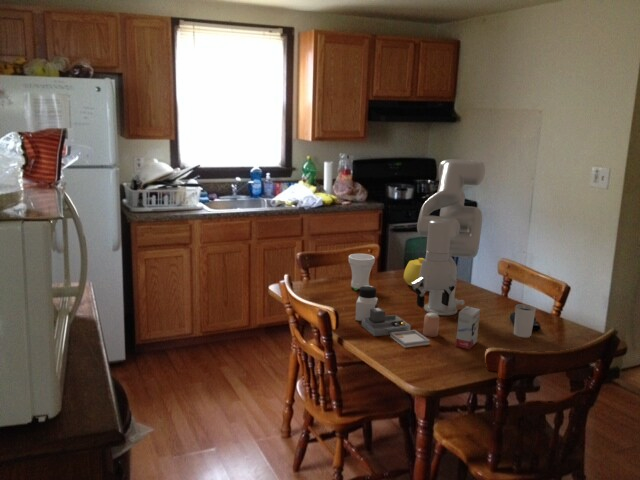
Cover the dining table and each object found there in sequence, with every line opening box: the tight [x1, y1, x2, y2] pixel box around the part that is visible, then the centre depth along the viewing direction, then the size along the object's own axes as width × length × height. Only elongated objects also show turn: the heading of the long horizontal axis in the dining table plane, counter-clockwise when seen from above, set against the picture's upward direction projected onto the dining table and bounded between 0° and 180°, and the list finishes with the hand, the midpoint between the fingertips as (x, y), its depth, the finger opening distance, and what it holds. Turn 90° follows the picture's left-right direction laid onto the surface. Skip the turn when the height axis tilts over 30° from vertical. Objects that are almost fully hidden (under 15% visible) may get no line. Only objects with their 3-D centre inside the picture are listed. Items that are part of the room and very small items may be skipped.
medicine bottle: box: [355, 285, 379, 322], centre depth 212 cm, size 7×7×12 cm
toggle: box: [370, 307, 386, 323], centre depth 201 cm, size 4×4×5 cm
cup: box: [348, 253, 376, 292], centre depth 246 cm, size 11×11×14 cm
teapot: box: [403, 257, 426, 290], centre depth 251 cm, size 14×20×13 cm
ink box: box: [455, 305, 481, 350], centre depth 192 cm, size 9×5×12 cm, turn 148°
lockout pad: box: [389, 329, 431, 348], centre depth 194 cm, size 10×10×1 cm
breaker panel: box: [361, 314, 412, 337], centre depth 203 cm, size 14×10×4 cm
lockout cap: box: [422, 312, 440, 338], centre depth 200 cm, size 5×5×7 cm
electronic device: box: [509, 311, 541, 332], centre depth 213 cm, size 9×6×15 cm
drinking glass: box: [513, 303, 537, 338], centre depth 202 cm, size 7×7×10 cm
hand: (432, 305), depth 197 cm, fingers open, 9 cm apart
